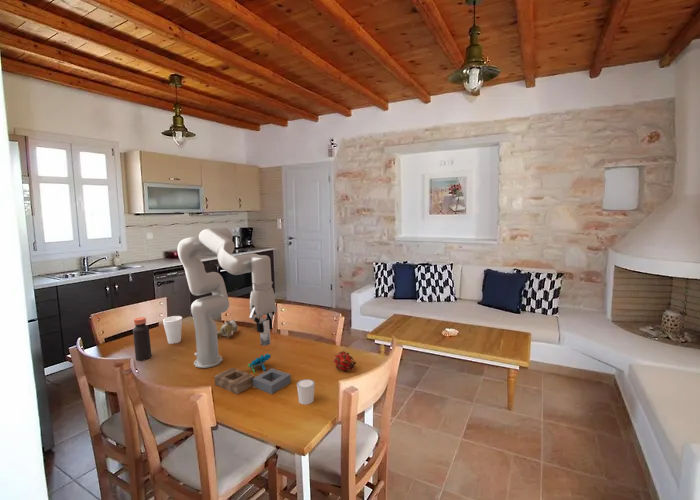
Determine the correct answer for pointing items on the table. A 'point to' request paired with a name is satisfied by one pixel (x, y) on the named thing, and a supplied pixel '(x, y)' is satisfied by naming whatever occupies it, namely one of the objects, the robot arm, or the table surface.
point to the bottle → (141, 339)
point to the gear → (259, 362)
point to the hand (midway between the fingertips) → (264, 329)
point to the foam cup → (173, 328)
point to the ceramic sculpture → (227, 329)
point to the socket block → (278, 381)
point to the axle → (265, 332)
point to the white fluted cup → (306, 391)
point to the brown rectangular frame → (234, 380)
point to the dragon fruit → (344, 361)
